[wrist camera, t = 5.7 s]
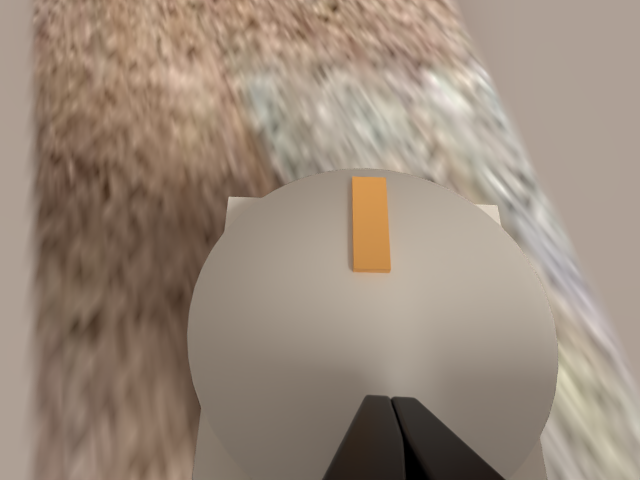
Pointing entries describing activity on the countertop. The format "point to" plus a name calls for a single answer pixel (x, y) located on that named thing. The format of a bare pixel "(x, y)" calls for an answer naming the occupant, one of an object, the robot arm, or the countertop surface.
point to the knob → (365, 326)
